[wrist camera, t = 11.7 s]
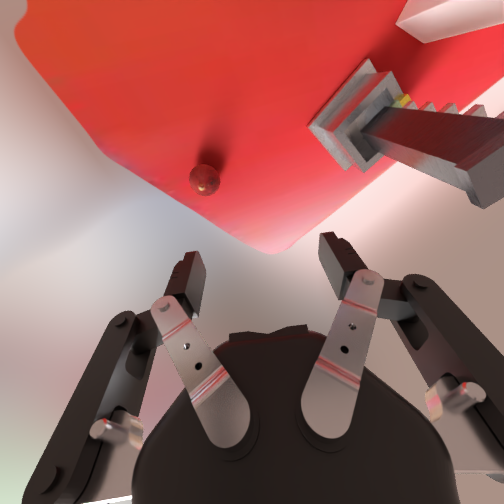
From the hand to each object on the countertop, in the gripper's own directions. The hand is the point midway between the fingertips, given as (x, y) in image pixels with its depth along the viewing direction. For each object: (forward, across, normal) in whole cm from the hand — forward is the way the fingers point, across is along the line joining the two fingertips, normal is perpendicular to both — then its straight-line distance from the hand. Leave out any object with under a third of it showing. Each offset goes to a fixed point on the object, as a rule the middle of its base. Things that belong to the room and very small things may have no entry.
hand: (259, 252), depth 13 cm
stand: (+33, -20, -1) cm, 39 cm away
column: (+24, -20, -1) cm, 31 cm away
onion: (+33, +9, +4) cm, 35 cm away
